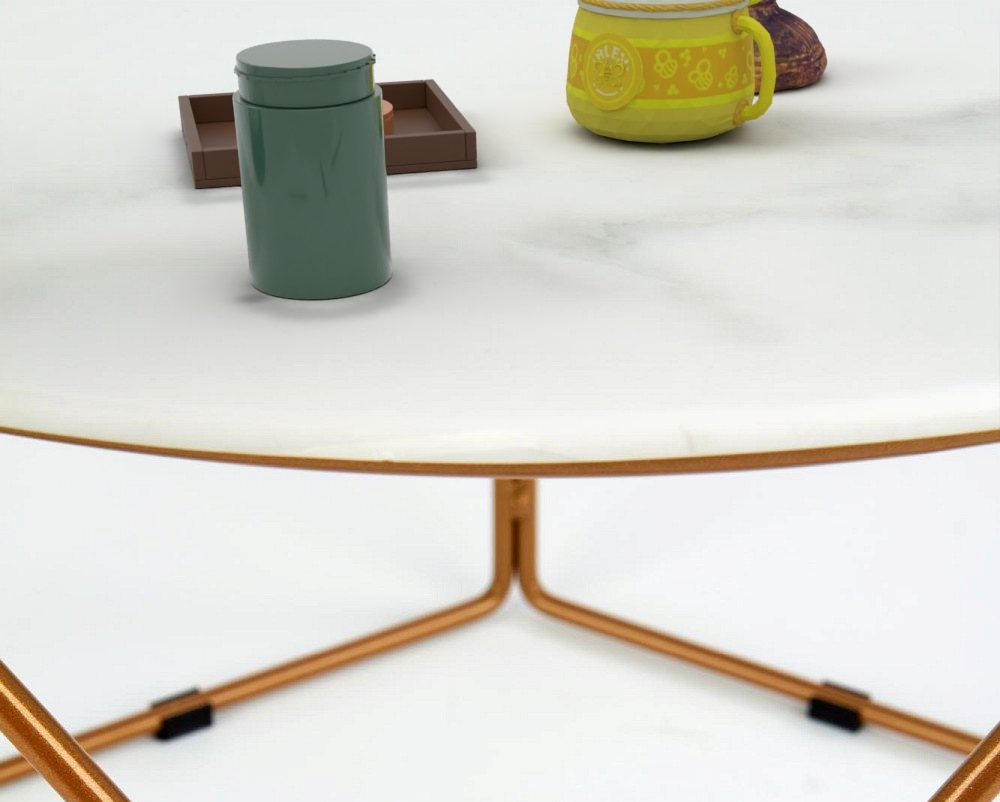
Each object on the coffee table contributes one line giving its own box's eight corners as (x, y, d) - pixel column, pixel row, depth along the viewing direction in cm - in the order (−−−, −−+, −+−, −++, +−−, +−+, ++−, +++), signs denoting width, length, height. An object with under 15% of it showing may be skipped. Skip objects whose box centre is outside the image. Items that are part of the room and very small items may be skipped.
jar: (392, 297, 75) (379, 66, 70) (246, 302, 75) (222, 71, 70) (391, 252, 81) (380, 35, 75) (255, 257, 80) (234, 40, 75)
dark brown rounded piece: (782, 103, 104) (791, -27, 100) (608, 83, 109) (610, -42, 105) (855, 66, 112) (866, -56, 108) (690, 48, 117) (695, -68, 113)
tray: (195, 188, 90) (191, 151, 89) (181, 129, 101) (177, 95, 100) (477, 167, 93) (476, 131, 92) (434, 111, 104) (433, 78, 103)
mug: (526, 135, 98) (524, -96, 92) (632, 98, 106) (638, -119, 99) (718, 169, 92) (731, -78, 85) (817, 126, 99) (836, -104, 92)
